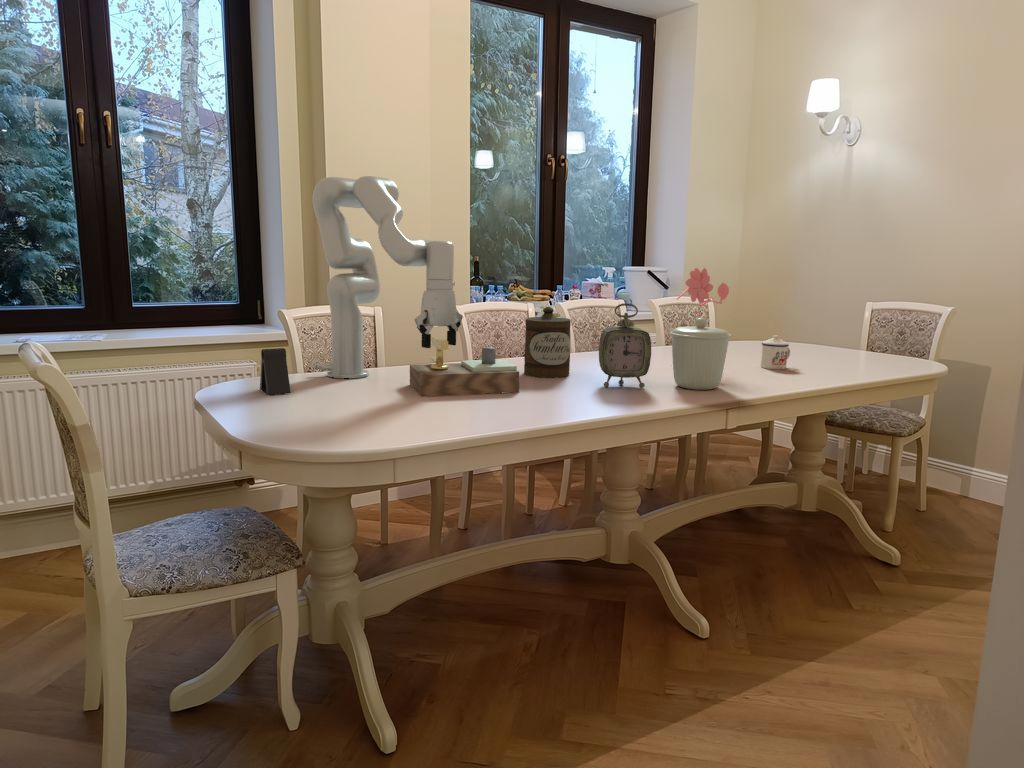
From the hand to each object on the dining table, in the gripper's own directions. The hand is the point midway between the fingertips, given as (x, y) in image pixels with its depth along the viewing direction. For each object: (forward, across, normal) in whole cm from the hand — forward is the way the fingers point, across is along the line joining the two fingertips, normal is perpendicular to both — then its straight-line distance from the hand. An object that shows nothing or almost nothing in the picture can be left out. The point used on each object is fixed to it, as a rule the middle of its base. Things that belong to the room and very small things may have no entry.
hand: (438, 346), depth 211 cm
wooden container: (+13, -44, +4) cm, 46 cm away
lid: (+6, -13, +8) cm, 16 cm away
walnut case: (+12, -6, +4) cm, 14 cm away
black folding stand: (+13, +36, -27) cm, 47 cm away
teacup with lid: (+12, -118, +50) cm, 129 cm away
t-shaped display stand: (+6, -1, -2) cm, 7 cm away
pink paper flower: (+12, -96, +29) cm, 101 cm away
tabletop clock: (+12, -45, +33) cm, 57 cm away
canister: (+12, -61, +49) cm, 79 cm away
